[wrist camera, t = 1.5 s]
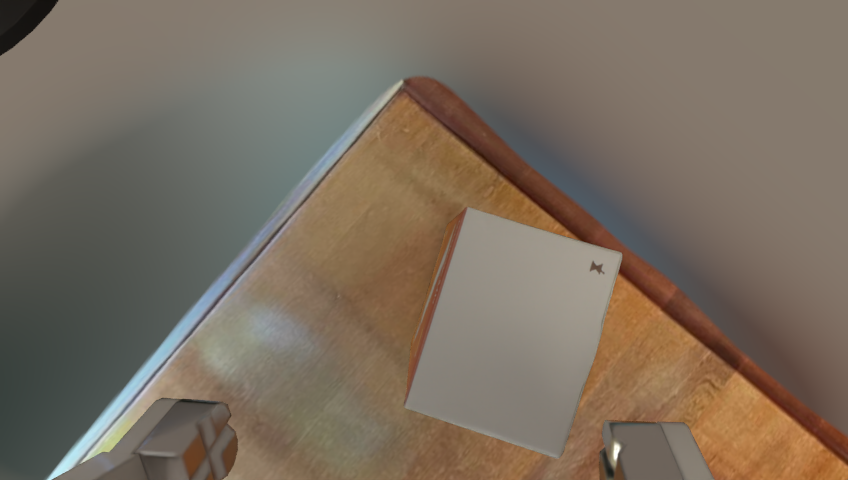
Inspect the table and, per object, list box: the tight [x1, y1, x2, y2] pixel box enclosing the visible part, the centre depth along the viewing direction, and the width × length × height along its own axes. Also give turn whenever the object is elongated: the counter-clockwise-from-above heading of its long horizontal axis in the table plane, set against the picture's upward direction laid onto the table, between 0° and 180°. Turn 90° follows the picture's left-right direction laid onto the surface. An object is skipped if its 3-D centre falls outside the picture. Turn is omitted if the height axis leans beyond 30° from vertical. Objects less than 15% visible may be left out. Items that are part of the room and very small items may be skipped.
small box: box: [404, 207, 622, 458], centre depth 25 cm, size 8×6×13 cm
